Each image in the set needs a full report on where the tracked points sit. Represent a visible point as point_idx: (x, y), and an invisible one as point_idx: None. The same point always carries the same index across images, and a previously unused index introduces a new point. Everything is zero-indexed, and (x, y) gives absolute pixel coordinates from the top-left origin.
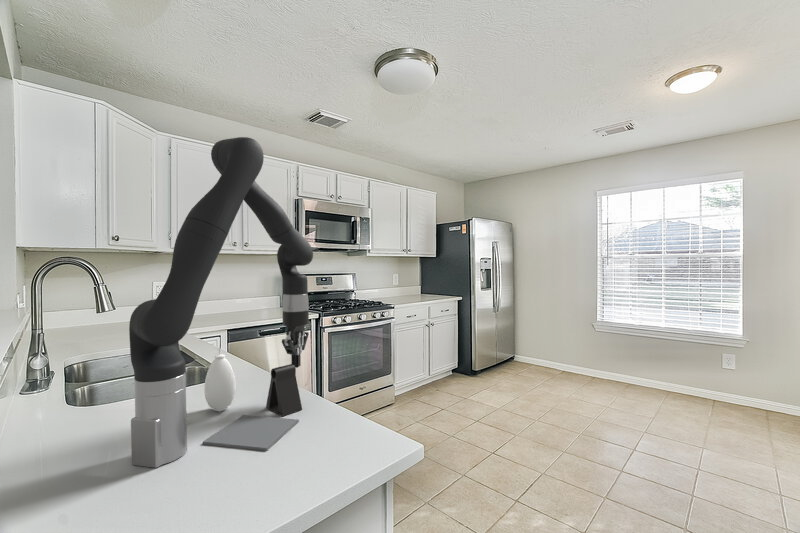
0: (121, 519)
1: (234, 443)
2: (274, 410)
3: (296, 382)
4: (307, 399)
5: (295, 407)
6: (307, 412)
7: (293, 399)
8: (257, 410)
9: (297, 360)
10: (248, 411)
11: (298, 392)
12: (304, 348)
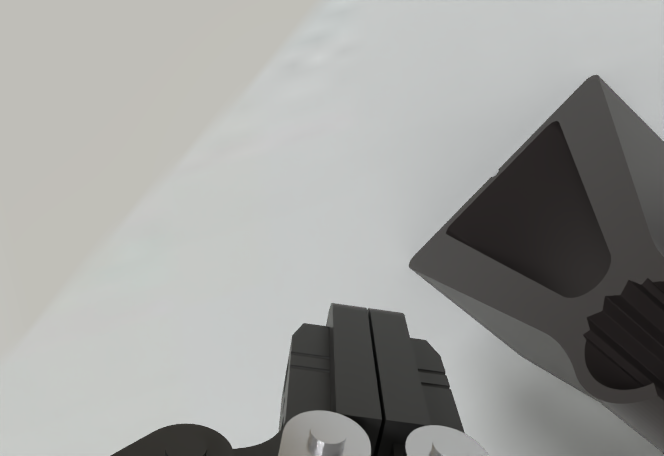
0: None
1: None
2: (599, 277)
3: (644, 203)
4: (349, 97)
5: (640, 125)
6: (649, 12)
7: (659, 162)
8: (553, 386)
9: (416, 377)
10: (563, 430)
11: (621, 145)
12: (141, 439)
